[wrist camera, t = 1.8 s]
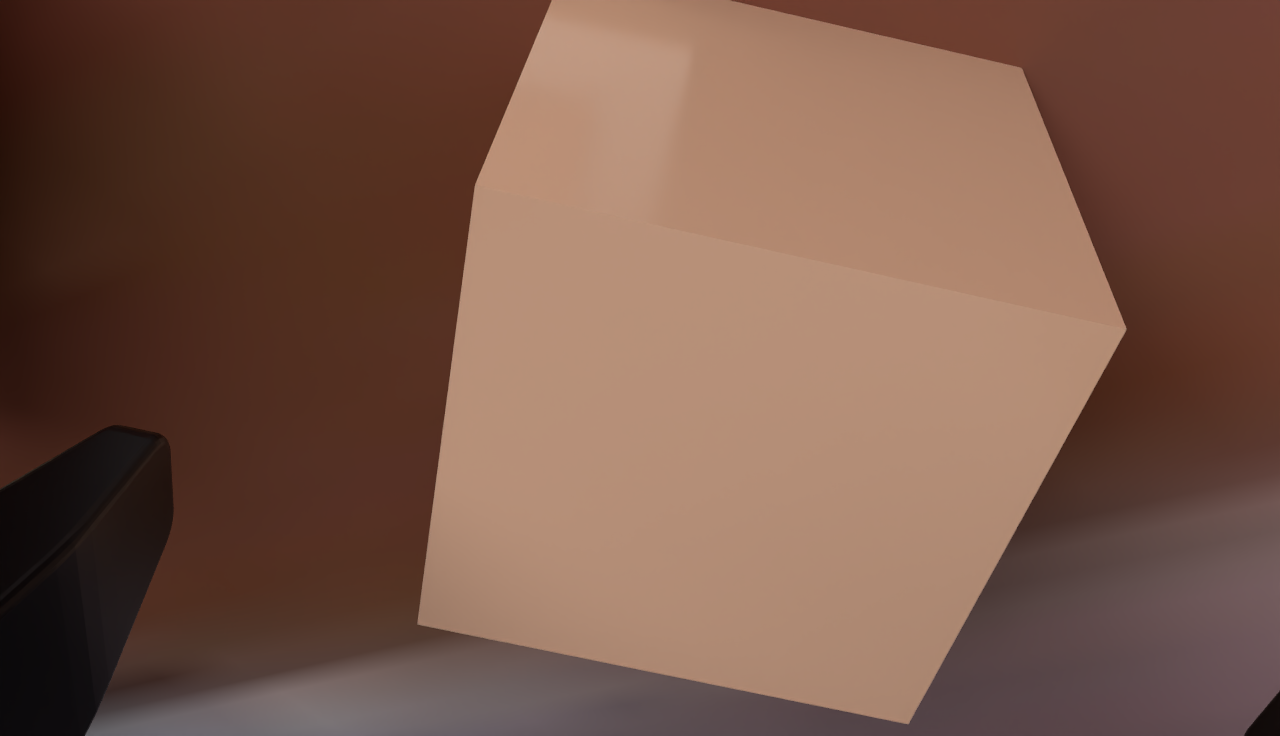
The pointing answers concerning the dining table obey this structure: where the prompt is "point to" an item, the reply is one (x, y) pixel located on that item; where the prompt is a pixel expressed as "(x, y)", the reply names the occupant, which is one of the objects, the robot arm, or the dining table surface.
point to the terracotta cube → (756, 351)
